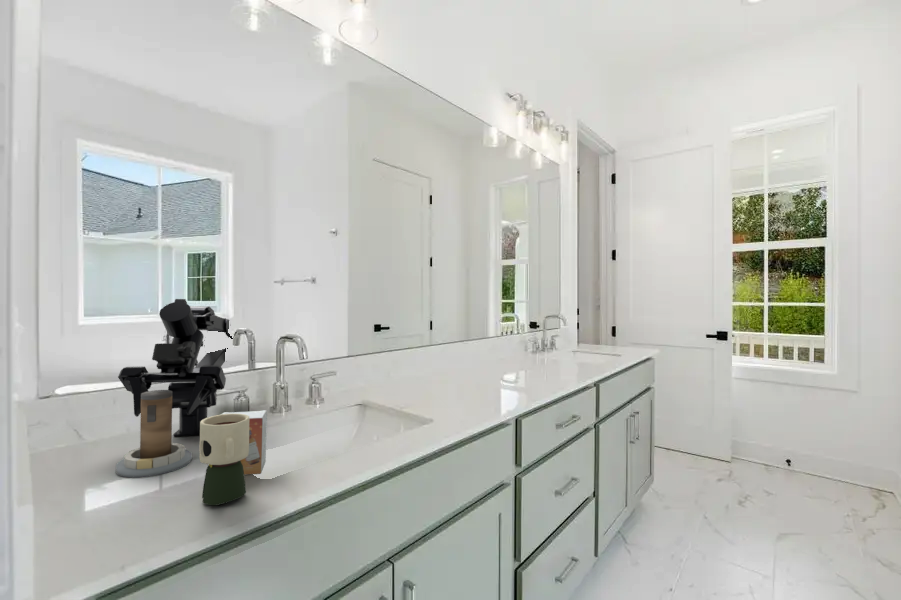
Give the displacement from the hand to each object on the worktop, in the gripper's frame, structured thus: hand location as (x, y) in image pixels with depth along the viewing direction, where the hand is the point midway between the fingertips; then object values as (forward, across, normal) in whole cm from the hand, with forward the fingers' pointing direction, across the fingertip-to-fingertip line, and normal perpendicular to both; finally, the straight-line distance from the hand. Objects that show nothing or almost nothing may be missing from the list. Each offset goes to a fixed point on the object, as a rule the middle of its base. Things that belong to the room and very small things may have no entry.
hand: (162, 414), depth 86 cm
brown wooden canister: (+8, 0, +4) cm, 8 cm away
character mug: (+21, +17, -8) cm, 28 cm away
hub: (+8, 0, +4) cm, 9 cm away
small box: (+12, +17, 0) cm, 21 cm away
